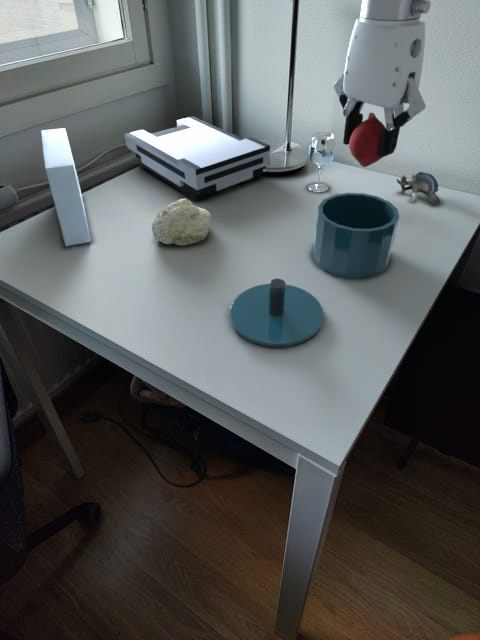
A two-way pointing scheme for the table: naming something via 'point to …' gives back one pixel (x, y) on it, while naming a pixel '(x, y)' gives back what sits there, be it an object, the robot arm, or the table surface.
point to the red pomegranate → (366, 141)
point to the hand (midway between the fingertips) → (368, 147)
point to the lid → (276, 314)
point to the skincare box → (65, 186)
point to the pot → (354, 234)
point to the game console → (199, 156)
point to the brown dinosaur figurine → (421, 186)
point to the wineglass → (321, 155)
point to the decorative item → (181, 223)
